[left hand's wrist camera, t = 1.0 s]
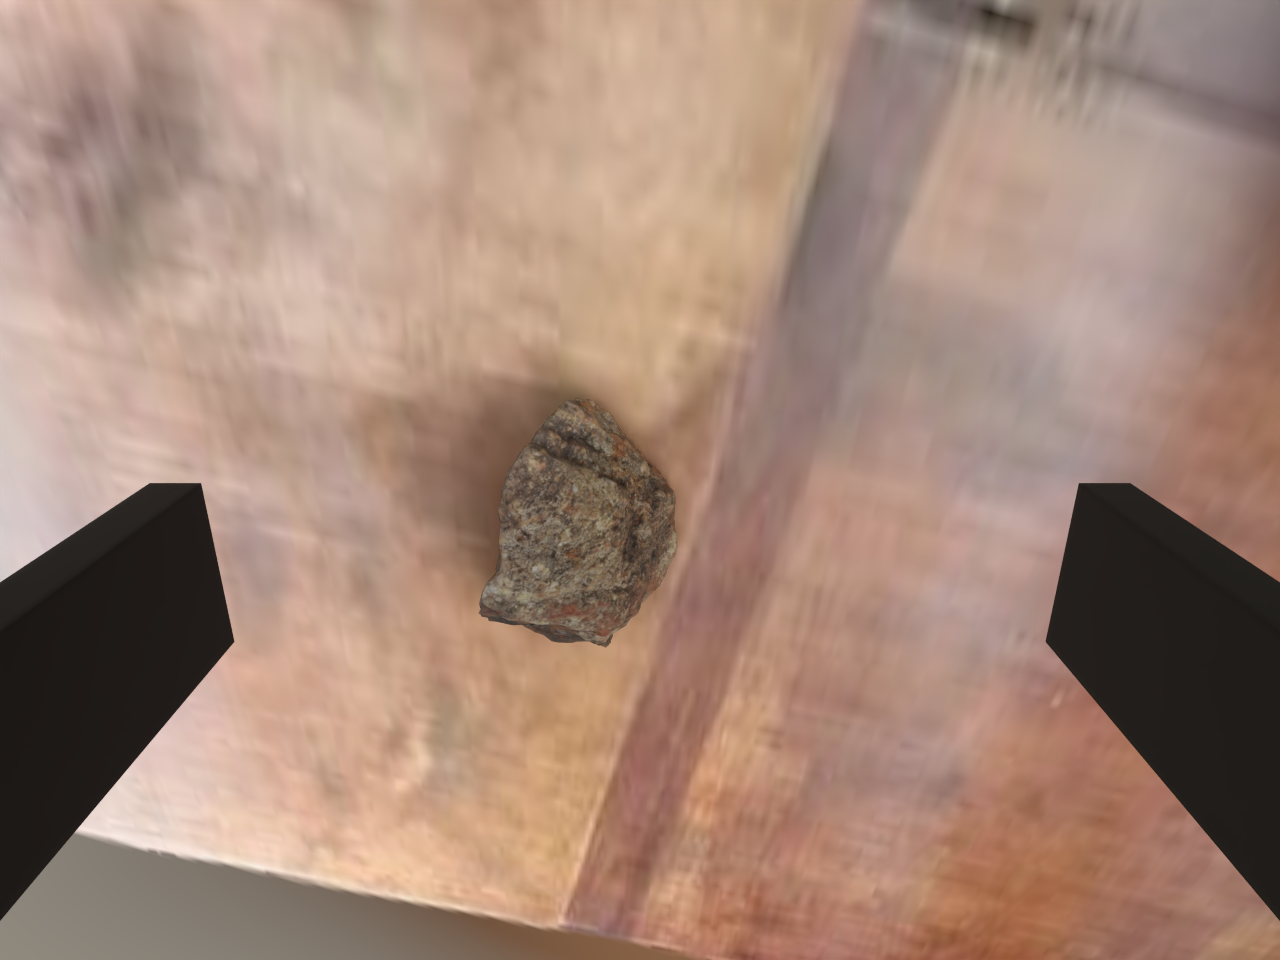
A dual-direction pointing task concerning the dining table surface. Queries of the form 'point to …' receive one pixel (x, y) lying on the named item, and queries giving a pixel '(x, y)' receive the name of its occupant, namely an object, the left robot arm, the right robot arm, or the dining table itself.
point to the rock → (580, 530)
